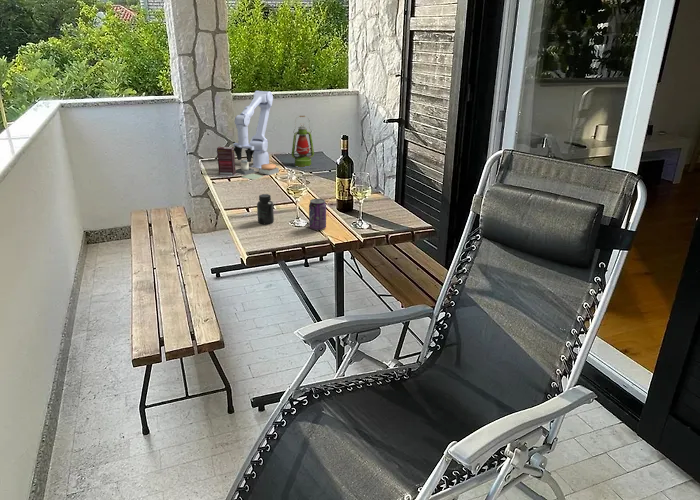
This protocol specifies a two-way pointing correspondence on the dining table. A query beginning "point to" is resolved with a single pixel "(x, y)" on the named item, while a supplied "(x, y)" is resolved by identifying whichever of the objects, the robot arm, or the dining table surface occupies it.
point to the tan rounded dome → (268, 166)
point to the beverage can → (317, 214)
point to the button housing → (268, 171)
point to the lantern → (302, 146)
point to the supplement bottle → (265, 210)
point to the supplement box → (226, 161)
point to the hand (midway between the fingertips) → (244, 160)
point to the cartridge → (244, 165)
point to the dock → (245, 171)
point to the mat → (252, 176)
